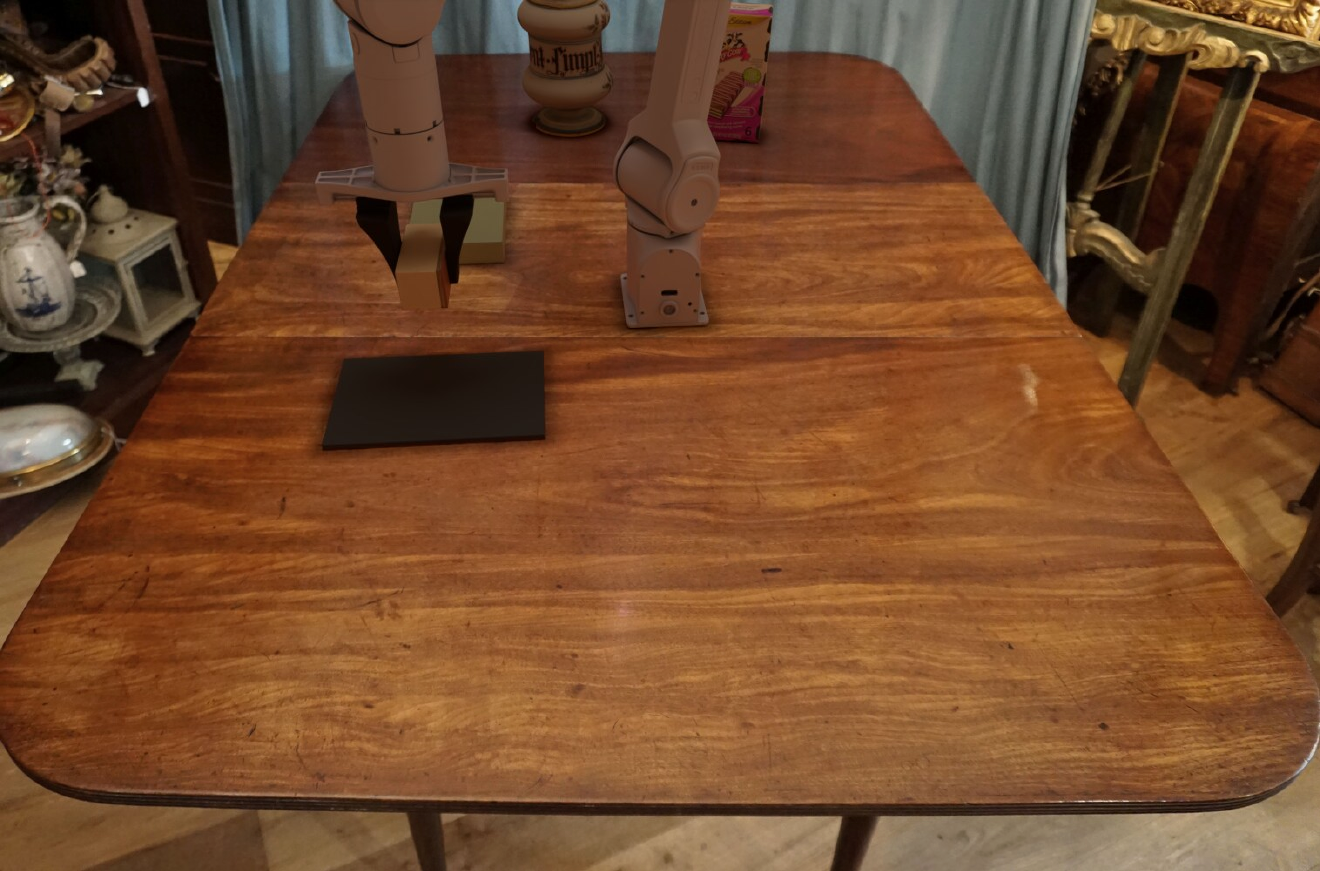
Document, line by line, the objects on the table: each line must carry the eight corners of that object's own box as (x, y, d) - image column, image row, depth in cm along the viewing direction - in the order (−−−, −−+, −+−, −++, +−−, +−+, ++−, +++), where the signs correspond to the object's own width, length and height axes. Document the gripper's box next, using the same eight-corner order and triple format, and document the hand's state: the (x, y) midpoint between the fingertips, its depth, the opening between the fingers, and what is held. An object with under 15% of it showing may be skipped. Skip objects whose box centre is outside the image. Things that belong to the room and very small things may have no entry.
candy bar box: (676, 139, 124) (681, 9, 113) (679, 124, 128) (684, -3, 117) (760, 144, 124) (773, 14, 113) (761, 129, 127) (773, 2, 117)
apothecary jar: (514, 112, 130) (502, -28, 118) (595, 100, 134) (592, -36, 122) (540, 146, 122) (531, -1, 110) (626, 133, 125) (626, -11, 114)
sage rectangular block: (504, 262, 99) (502, 241, 97) (408, 265, 98) (404, 244, 96) (507, 201, 110) (505, 181, 108) (420, 203, 109) (417, 183, 107)
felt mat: (545, 438, 78) (544, 434, 77) (322, 450, 76) (321, 445, 76) (543, 354, 87) (543, 350, 86) (344, 362, 85) (343, 358, 85)
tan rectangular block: (448, 308, 76) (442, 270, 73) (401, 310, 75) (394, 272, 73) (454, 258, 82) (450, 222, 79) (411, 259, 81) (405, 223, 79)
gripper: (504, 98, 73) (517, 252, 82) (313, 100, 72) (347, 256, 81) (501, 134, 68) (515, 295, 77) (295, 137, 66) (334, 300, 75)
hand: (429, 278), depth 78 cm, fingers closed on tan rectangular block, 4 cm apart
